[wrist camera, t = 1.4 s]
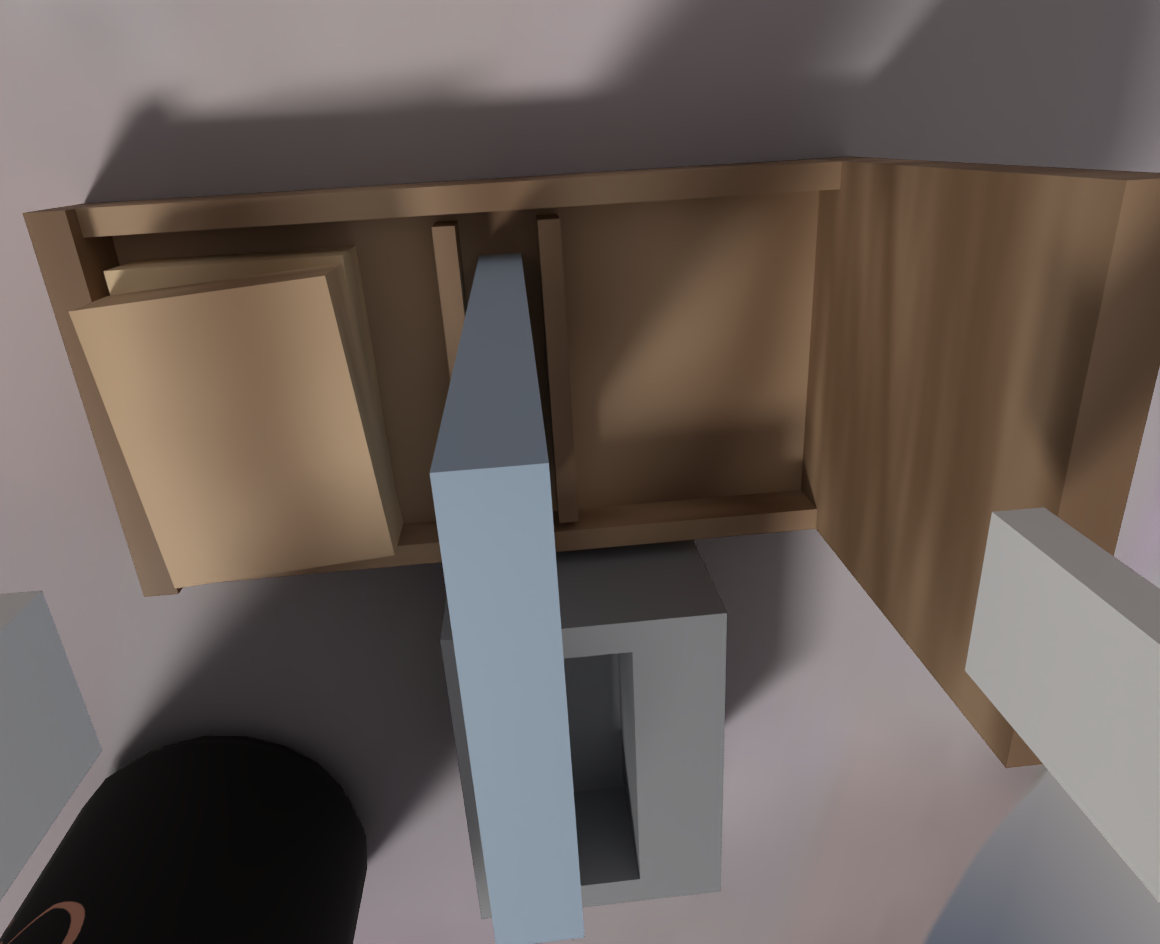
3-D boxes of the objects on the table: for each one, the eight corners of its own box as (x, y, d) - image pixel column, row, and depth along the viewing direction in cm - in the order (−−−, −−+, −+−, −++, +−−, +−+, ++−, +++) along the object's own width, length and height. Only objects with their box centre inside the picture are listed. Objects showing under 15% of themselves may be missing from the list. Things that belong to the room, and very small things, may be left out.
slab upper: (201, 553, 23) (174, 588, 21) (108, 296, 20) (68, 311, 18) (403, 522, 23) (394, 555, 22) (341, 263, 20) (324, 275, 19)
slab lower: (206, 518, 25) (182, 548, 23) (137, 260, 22) (103, 271, 20) (397, 502, 25) (388, 530, 24) (356, 245, 22) (342, 255, 20)
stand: (485, 782, 31) (481, 919, 26) (453, 538, 27) (440, 640, 22) (683, 761, 32) (720, 891, 26) (683, 518, 28) (726, 612, 22)
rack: (182, 549, 26) (-85, 887, 14) (82, 203, 22) (-415, 280, 10) (823, 493, 28) (1063, 761, 16) (848, 156, 23) (1205, 175, 11)
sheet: (501, 478, 25) (495, 947, 11) (479, 255, 23) (429, 472, 8) (539, 475, 25) (584, 937, 11) (521, 252, 23) (549, 463, 8)
